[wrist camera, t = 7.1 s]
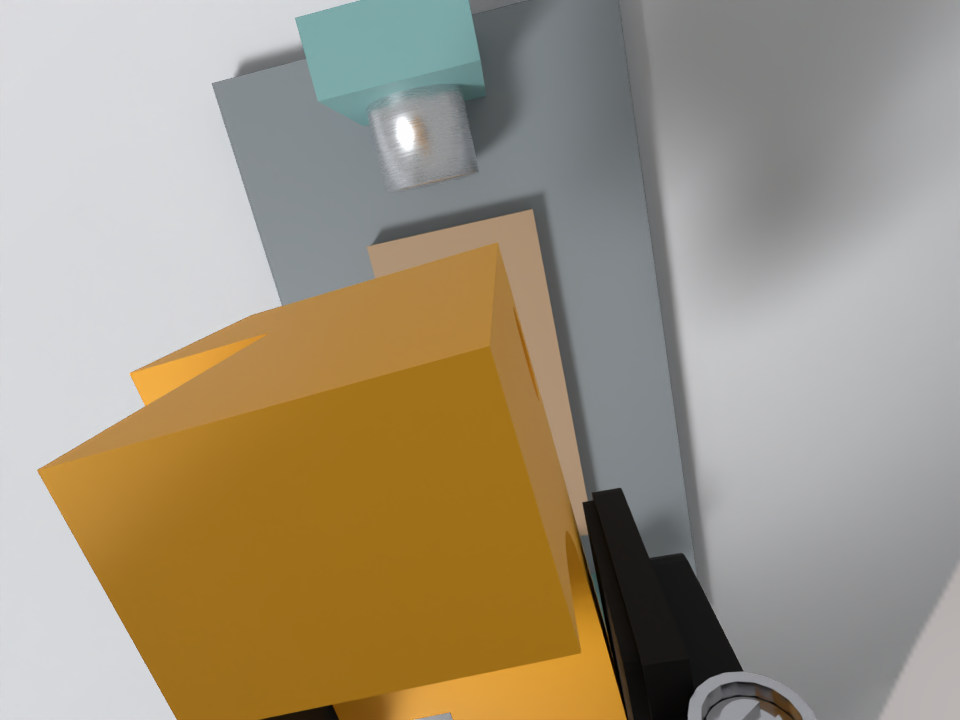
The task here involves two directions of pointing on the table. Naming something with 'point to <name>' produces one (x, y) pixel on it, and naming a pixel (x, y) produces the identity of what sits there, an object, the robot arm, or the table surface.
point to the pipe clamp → (349, 514)
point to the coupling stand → (488, 210)
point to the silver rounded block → (422, 137)
